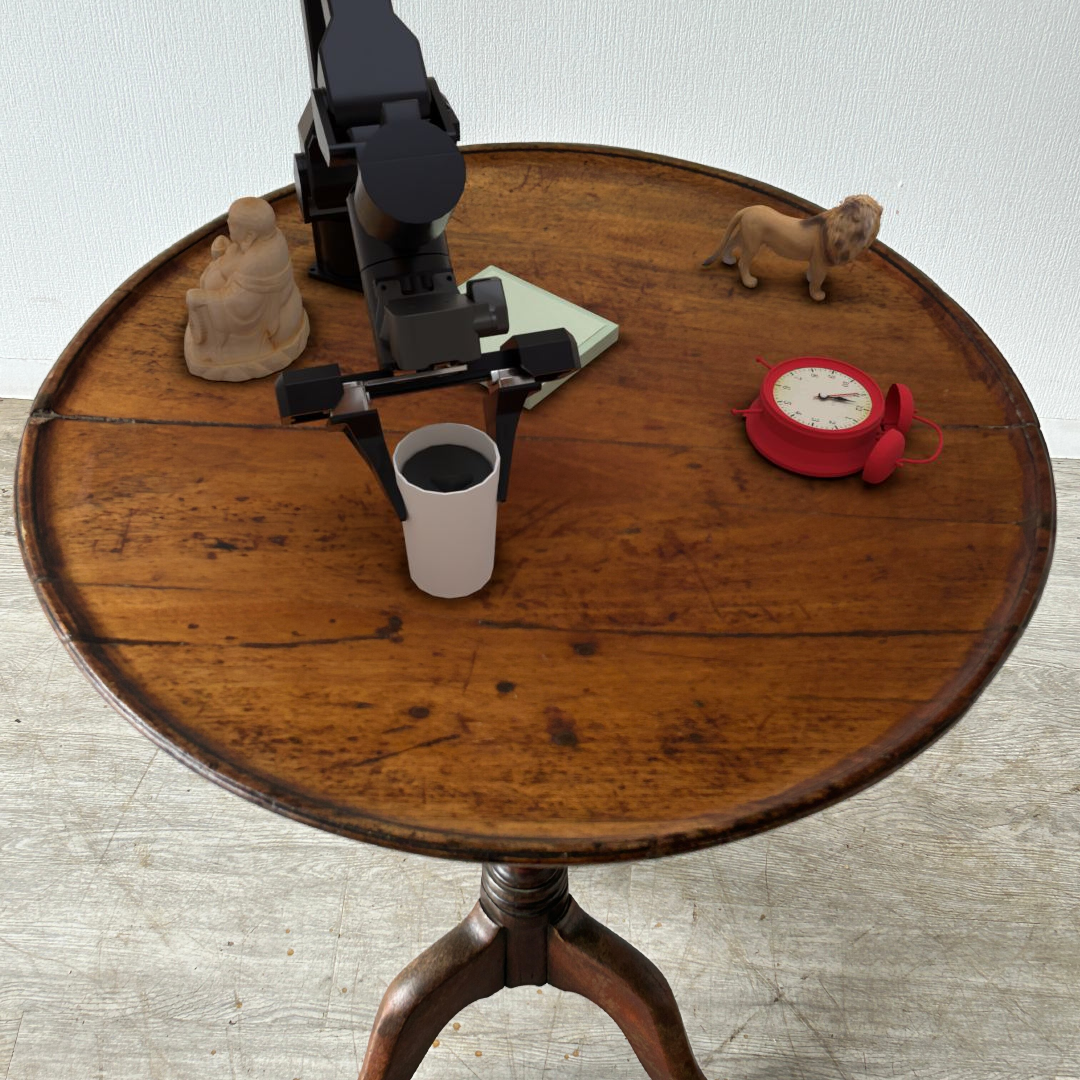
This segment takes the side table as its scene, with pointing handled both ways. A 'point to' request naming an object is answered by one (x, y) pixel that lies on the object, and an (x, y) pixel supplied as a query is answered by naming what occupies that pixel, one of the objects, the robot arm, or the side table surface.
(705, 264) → the lion figurine
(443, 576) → the white cup
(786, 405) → the alarm clock
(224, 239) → the statue
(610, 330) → the board
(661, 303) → the side table surface
